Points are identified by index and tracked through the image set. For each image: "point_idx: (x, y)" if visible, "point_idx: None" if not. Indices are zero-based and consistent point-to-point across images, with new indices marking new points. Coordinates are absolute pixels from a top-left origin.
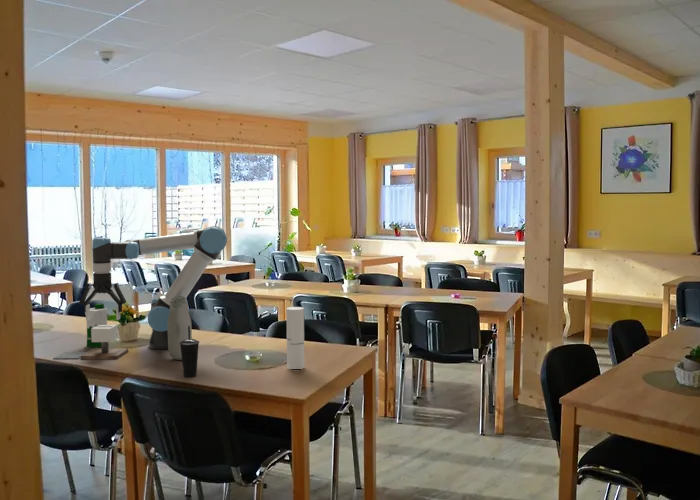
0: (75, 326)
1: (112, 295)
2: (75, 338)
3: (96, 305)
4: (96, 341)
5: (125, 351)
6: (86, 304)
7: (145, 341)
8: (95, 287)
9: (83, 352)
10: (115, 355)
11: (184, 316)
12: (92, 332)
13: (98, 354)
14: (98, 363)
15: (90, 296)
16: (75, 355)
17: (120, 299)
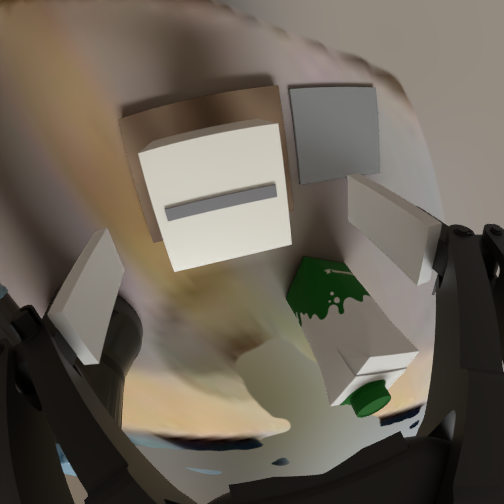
0: (408, 379)
1: (71, 441)
2: (396, 324)
3: (382, 393)
4: (230, 123)
5: (144, 210)
6: (442, 245)
7: (194, 355)
8: (501, 495)
9: (315, 175)
10: (128, 120)
11: None
12: (262, 122)
13: (214, 118)
14: (161, 40)
15: (480, 313)
16: (320, 126)
17: (4, 380)
